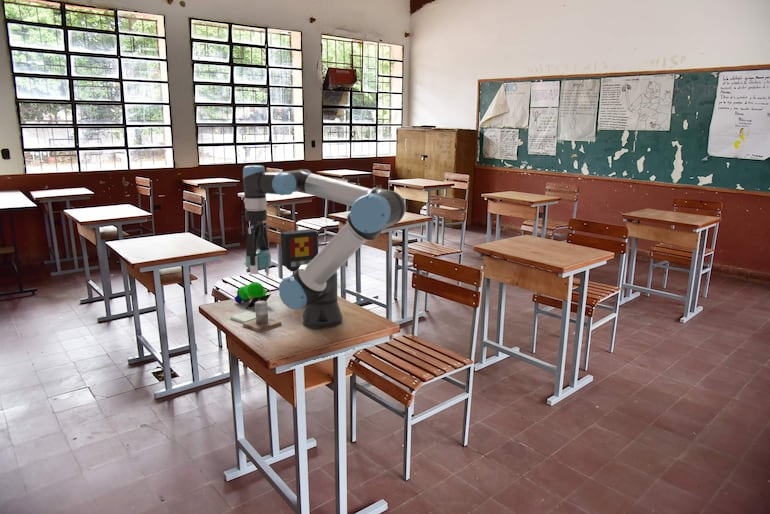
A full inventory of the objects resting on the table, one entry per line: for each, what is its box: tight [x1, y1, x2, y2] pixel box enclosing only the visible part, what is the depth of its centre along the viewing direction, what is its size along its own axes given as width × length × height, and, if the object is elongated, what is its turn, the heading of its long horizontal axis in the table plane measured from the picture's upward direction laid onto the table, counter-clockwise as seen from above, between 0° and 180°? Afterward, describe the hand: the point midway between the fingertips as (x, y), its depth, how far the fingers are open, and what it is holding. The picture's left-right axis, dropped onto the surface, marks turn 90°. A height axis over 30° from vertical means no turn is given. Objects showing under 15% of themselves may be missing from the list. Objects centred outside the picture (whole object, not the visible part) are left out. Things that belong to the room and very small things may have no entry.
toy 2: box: [280, 228, 319, 272], centre depth 230 cm, size 14×6×30 cm, turn 119°
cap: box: [243, 249, 274, 270], centre depth 197 cm, size 8×11×5 cm
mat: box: [229, 310, 256, 324], centre depth 210 cm, size 9×9×1 cm
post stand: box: [242, 301, 282, 333], centre depth 202 cm, size 10×10×9 cm
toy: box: [234, 281, 272, 309], centre depth 226 cm, size 10×11×15 cm
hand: (258, 270), depth 198 cm, fingers closed on cap, 8 cm apart
